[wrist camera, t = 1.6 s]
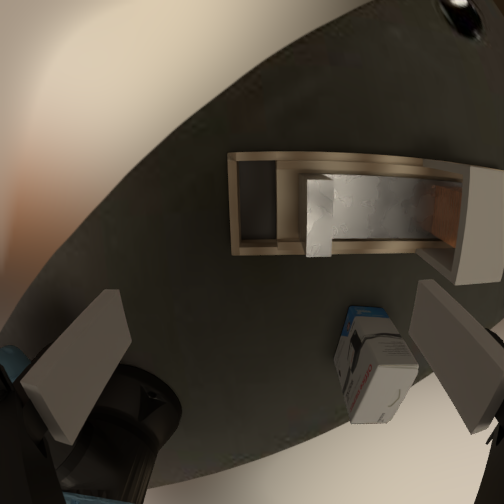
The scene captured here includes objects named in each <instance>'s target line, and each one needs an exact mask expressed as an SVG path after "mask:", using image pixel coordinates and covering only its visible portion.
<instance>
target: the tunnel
mask: <svg viewBox="0 0 504 504" xmlns="http://www.w3.org/2000/svg"><path fill="white" fill-rule="evenodd" d="M423 167H428V168H433V169H438V170H443V171H448V172H453V173H458V174H462V175H463V186H462V199H461V210H460V219H459V227H458V234H457V241H456V248H427V249H416V251H415V253H416V254H418V255H419V256H420V257H421V258H423V259H424V260H425V261H426V262H428V263H429V264H430V265H431V266H432V267H434V268H435V269H436V270H437V271H438V272H440V273H441V274H442V275H443V276H444V277H446V278H447V279H448V280H449V281H450V282H452V283H453V284H454V285H466V284H478V283H489V282H500V281H501V277H502V273H503V268H504V171H499V170H494V169H489V168H484V167H478V166H473V165H467V164H456V163H450V162H443V161H436V160H429V159H423Z"/></svg>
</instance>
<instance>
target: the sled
mask: <svg viewBox="0 0 504 504" xmlns="http://www.w3.org/2000/svg"><path fill="white" fill-rule="evenodd" d="M462 186H463V183H462V182H455V181H446V180H435V179H424V178H411V177H397V176H380V175H359V174H325V173H299V216H298V237H299V239H300V242H301V245H302V247H303V250H304V253H305V255H306V257H331V250H332V239H339V238H439V239H441V240H443V241H444V242H446V243H447V244H449V245H451V246H452V247H454V248H456V241H457V234H458V227H459V219H460V210H461V199H462Z"/></svg>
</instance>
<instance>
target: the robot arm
mask: <svg viewBox="0 0 504 504" xmlns="http://www.w3.org/2000/svg"><path fill="white" fill-rule="evenodd" d="M409 335H410V336H411V338H412V339H413V341H414V342H415V344H416V345H417V347H418V348H419V350H420V351H421V353H422V354H423V356H424V358H425V359H426V361H427V362H428V364H429V365H430V367H431V368H432V370H433V372H434V373H435V375H436V376H437V378H438V379H439V381H440V382H441V384H442V386H443V388H444V389H445V391H446V392H447V394H448V396H449V397H450V399H451V401H452V402H453V404H454V406H455V407H456V409H457V411H458V413H459V414H460V416H461V418H462V419H463V421H464V423H465V425H466V427H467V428H468V430H469V432H470V433H471V435H472V434H475V433H477V432H480V431H482V430H485V429H487V428H488V427H489V425H490V423H491V422H492V420H493V418H494V417H495V418H496V419H497V421H498V422H499V423H498V425H497V426H496V427H495V429H494V431H493V432H492V434H491V435H490V437H489V438H488V440H487V442H486V444H488V443H489V442H490V441H491V440H492V439H493V440H492V444H491V449H490V453H489V457H488V461H487V464H486V468H485V472H484V475H483V478H482V482H481V485H480V488H479V491H478V494H477V497H476V499H475V502H474V504H504V343H503V340H502V339H500V337H499V336H498V335H497V334H496V333H494V332H492V331H490V330H489V329H487V328H483V327H482V326H481V325H480V324H479V323H478V322H477V321H476V320H475V319H474V318H473V317H472V316H471V315H470V314H469V313H468V312H467V311H466V310H465V309H464V308H463V307H462V306H461V305H460V304H459V303H458V302H457V301H456V300H455V299H454V298H453V297H452V296H451V295H449V294H448V293H447V292H446V291H445V290H444V289H443V288H442V287H441V286H440V285H439V284H437V283H436V282H435V281H434V280H433V279H428V280H419V281H418V287H417V293H416V298H415V304H414V309H413V314H412V319H411V324H410V328H409ZM131 342H132V340H131V336H130V332H129V329H128V325H127V321H126V317H125V313H124V309H123V305H122V300H121V296H120V292H119V290H112V289H105V290H104V291H103V292H102V293H101V294H100V295H99V296H98V297H97V298H96V299H95V300H94V301H93V302H92V303H91V304H90V305H89V306H88V307H87V308H86V309H85V310H84V311H83V312H82V313H81V314H80V315H79V316H78V317H77V318H76V319H75V320H74V321H73V322H72V324H71V325H70V326H69V327H68V328H67V329H66V330H65V331H64V332H63V333H62V334H61V335H60V336H59V338H58V339H57V340H56V341H55V342H52V343H51V344H49V345H47V346H46V347H44V348H43V349H42V350H41V351H40V352H39V353H38V355H37V356H36V358H34V359H33V360H32V361H30V360H29V359H28V358H27V357H26V355H25V354H24V353H23V352H22V351H21V350H20V349H19V348H17V347H15V346H12V345H7V346H4V347H2V348H0V504H143V502H144V498H145V495H146V491H147V488H148V484H149V481H150V477H151V474H152V470H153V467H154V464H155V460H156V457H157V454H158V451H159V450H160V449H161V448H162V446H163V445H164V444H165V443H166V442H167V441H168V439H169V438H170V437H171V436H172V435H173V433H174V432H175V431H176V429H177V428H178V425H179V422H180V418H181V414H182V410H181V405H180V402H179V400H178V398H177V397H176V395H175V394H174V392H173V391H172V390H171V389H170V388H169V387H168V386H167V385H166V384H165V383H163V382H162V381H161V380H159V379H158V378H156V377H155V376H153V375H151V374H150V373H148V372H145V371H143V370H141V369H138V368H135V367H131V366H127V365H118V364H119V362H120V360H121V359H122V357H123V355H124V354H125V352H126V350H127V349H128V347H129V346H130V344H131Z"/></svg>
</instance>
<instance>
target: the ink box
mask: <svg viewBox="0 0 504 504" xmlns="http://www.w3.org/2000/svg"><path fill="white" fill-rule="evenodd" d="M334 363H335V366H336V370H337V373H338V377H339V380H340V384H341V388H342V391H343V395H344V399H345V403H346V407H347V411H348V415H349V419H350V423H351V424H377V423H387V422H389V421H390V420H391V419H392V418H393V416H394V415H395V413H396V411H397V410H398V408H399V406H400V404H401V403H402V401H403V400H404V398H405V396H406V394H407V392H408V390H409V389H410V387H411V385H412V383H413V382H414V379H415V378H416V376H417V374H418V367H419V365H418V363H417V361H416V360H415V358H414V356H413V355H412V353H411V351H410V350H409V348H408V346H407V345H406V343H405V342H404V340H403V338H402V337H401V335H400V334H399V332H398V330H397V329H396V327H395V326H394V324H393V323H392V321H391V319H390V318H389V316H388V315H387V313H386V312H385V310H384V309H383V308H376V307H361V306H350V307H349V310H348V314H347V317H346V320H345V324H344V327H343V330H342V334H341V337H340V340H339V344H338V347H337V350H336V353H335V356H334Z"/></svg>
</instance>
